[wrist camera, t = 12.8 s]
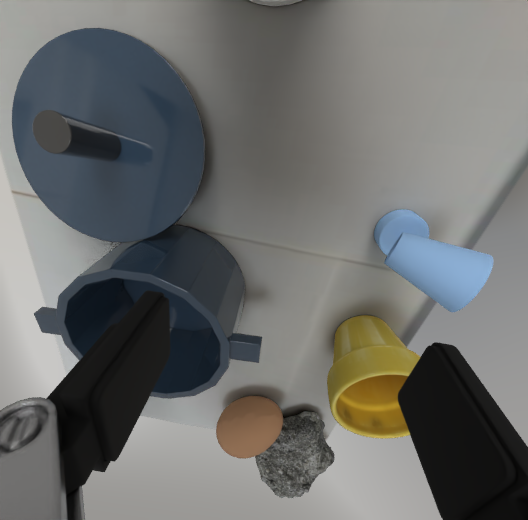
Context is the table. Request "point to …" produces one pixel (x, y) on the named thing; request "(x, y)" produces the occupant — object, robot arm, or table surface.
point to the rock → (296, 456)
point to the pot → (180, 305)
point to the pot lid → (108, 135)
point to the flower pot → (369, 378)
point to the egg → (249, 426)
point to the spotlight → (431, 260)
